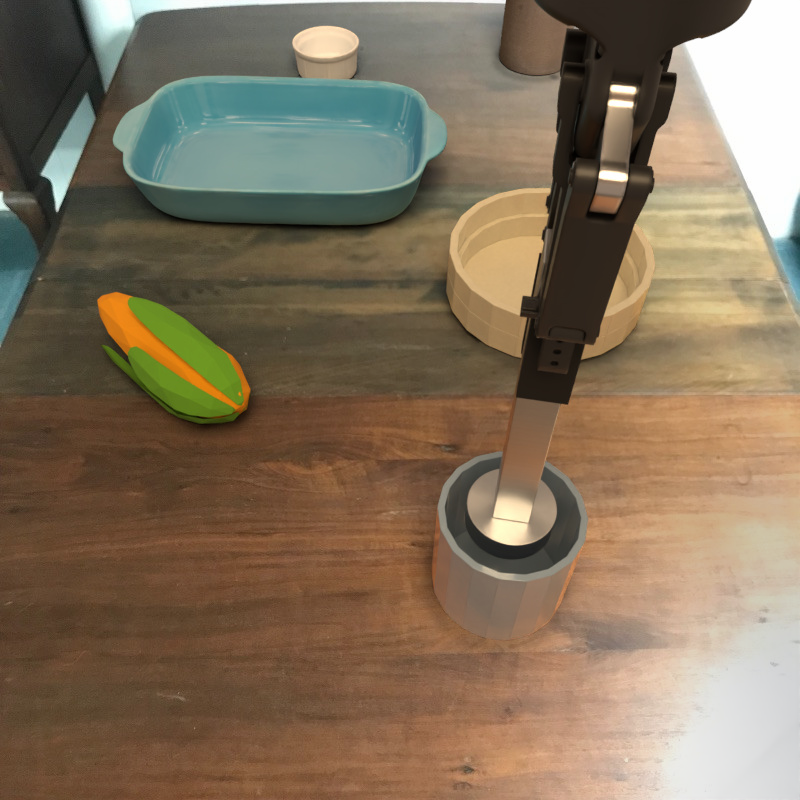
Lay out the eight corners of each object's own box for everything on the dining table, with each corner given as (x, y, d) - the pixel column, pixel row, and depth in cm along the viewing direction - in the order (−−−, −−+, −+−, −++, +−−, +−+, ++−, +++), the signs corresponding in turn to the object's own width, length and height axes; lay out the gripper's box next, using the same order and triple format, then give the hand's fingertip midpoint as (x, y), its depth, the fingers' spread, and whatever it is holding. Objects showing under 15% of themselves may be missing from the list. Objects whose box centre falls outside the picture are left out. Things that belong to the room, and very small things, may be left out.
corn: (196, 402, 62) (50, 284, 70) (208, 462, 67) (72, 346, 76) (267, 354, 66) (121, 248, 74) (273, 414, 71) (136, 310, 79)
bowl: (680, 312, 80) (698, 267, 75) (531, 398, 72) (541, 354, 68) (550, 211, 90) (559, 166, 85) (408, 278, 82) (409, 232, 78)
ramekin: (286, 63, 110) (282, 32, 106) (345, 50, 112) (343, 20, 109) (308, 94, 105) (306, 63, 101) (370, 80, 107) (369, 49, 104)
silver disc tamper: (570, 530, 54) (667, 259, 35) (502, 576, 52) (567, 313, 33) (513, 469, 57) (575, 191, 38) (447, 510, 55) (477, 236, 36)
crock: (589, 594, 60) (619, 528, 52) (486, 669, 57) (501, 610, 49) (505, 501, 65) (521, 429, 58) (405, 564, 62) (408, 496, 54)
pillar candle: (488, 47, 113) (500, -67, 102) (551, 37, 115) (569, -76, 104) (514, 81, 107) (530, -36, 96) (580, 70, 109) (602, -45, 98)
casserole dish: (104, 236, 86) (85, 180, 80) (153, 122, 100) (140, 68, 95) (443, 249, 85) (446, 193, 80) (444, 132, 99) (448, 79, 94)
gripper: (553, -216, 29) (489, 268, 47) (519, -40, 19) (455, 482, 38) (763, -202, 28) (616, 285, 47) (835, -12, 19) (614, 507, 37)
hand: (544, 372), depth 42 cm, fingers closed on silver disc tamper, 2 cm apart
